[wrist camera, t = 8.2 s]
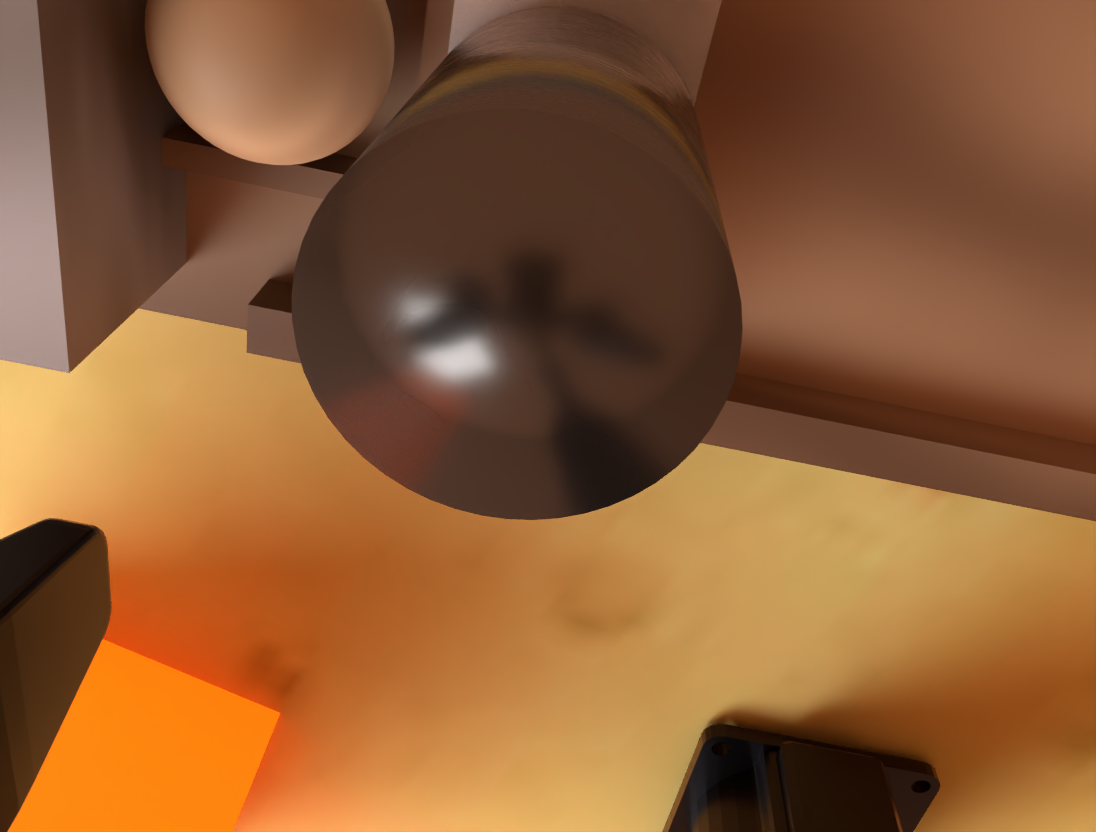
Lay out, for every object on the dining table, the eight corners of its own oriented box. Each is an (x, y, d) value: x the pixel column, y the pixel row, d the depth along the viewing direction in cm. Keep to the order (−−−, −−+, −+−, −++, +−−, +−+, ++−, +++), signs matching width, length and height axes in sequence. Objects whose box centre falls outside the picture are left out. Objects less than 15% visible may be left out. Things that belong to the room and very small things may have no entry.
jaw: (619, 367, 17) (611, 749, 10) (425, 327, 17) (272, 686, 10) (769, -217, 13) (959, -301, 5) (504, -276, 13) (328, -444, 5)
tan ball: (403, 150, 17) (352, 218, 14) (202, 109, 17) (106, 167, 14) (427, -73, 15) (374, -52, 12) (200, -122, 15) (90, -113, 12)
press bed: (1148, 475, 21) (1317, 679, 16) (55, 256, 20) (-142, 396, 15) (1542, -152, 15) (2029, -150, 10) (-12, -502, 14) (-384, -703, 9)
